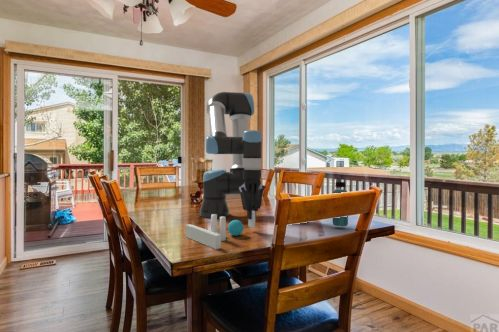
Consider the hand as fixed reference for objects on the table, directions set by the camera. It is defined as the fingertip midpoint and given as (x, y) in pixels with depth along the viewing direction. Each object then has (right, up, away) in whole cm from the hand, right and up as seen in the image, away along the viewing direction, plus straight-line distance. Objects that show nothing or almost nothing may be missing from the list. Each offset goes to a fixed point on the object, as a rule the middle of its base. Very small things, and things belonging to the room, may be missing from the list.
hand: (251, 226), depth 123 cm
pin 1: (-14, -2, -9) cm, 17 cm away
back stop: (-18, -2, -15) cm, 24 cm away
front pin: (-10, -1, -9) cm, 13 cm away
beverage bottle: (+38, -2, +7) cm, 39 cm away
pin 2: (-11, -2, -13) cm, 17 cm away
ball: (-6, +1, -6) cm, 9 cm away
